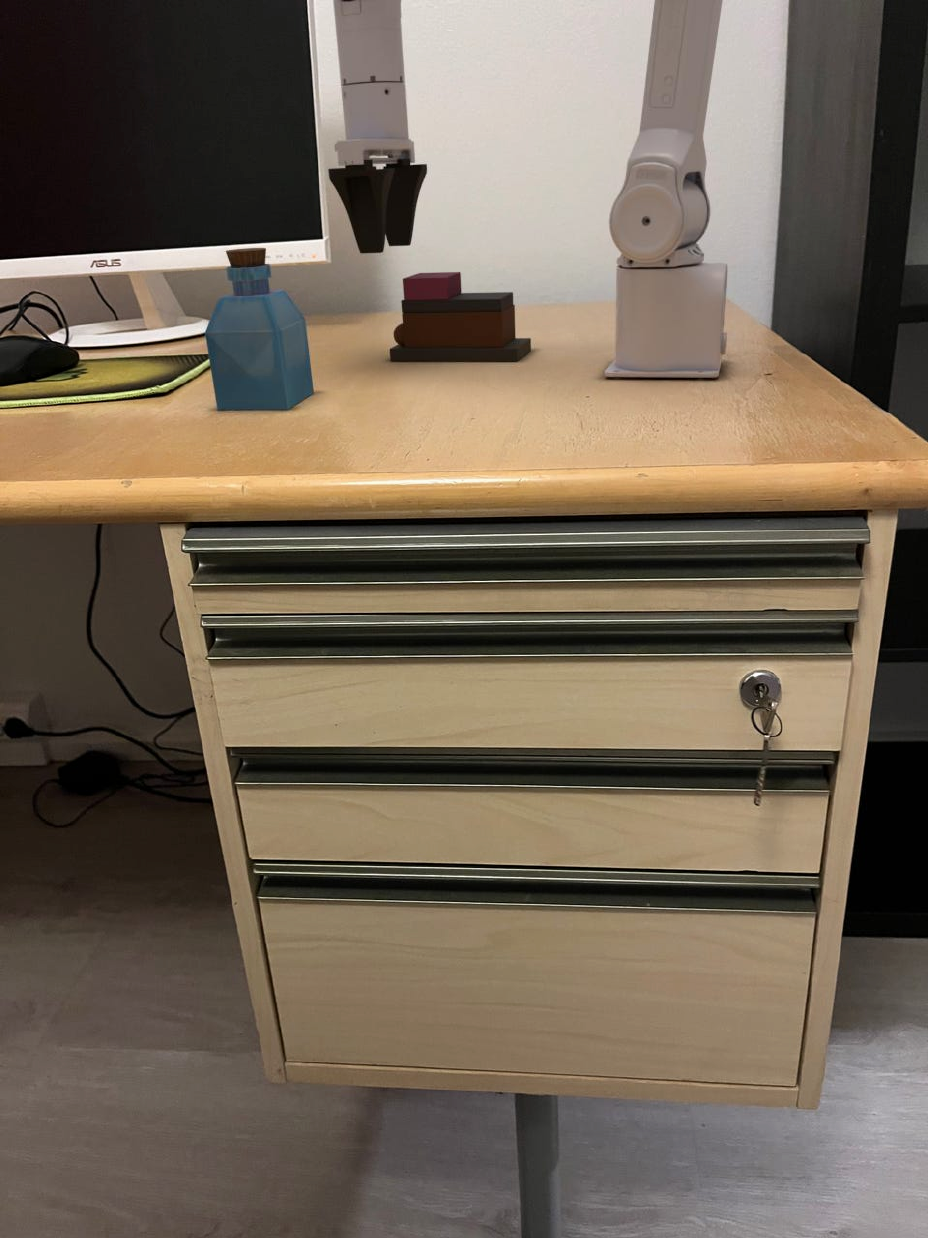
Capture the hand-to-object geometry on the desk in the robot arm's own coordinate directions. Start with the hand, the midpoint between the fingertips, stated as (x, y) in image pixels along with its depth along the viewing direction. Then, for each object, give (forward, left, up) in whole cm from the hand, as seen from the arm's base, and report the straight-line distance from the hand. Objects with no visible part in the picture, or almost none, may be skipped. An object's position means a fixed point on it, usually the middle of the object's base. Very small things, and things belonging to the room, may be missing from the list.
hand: (386, 249), depth 90 cm
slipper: (-6, -3, -6) cm, 9 cm away
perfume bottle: (+5, +18, -11) cm, 21 cm away
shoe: (-6, -3, -10) cm, 12 cm away
